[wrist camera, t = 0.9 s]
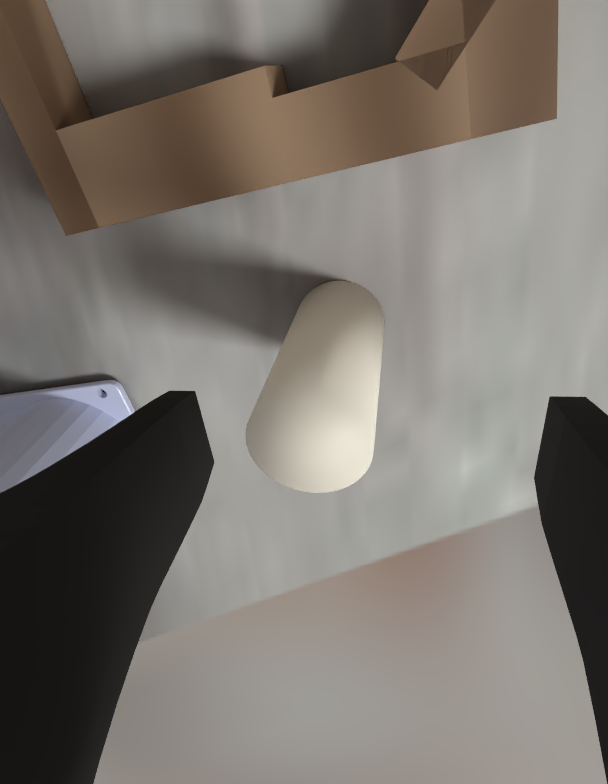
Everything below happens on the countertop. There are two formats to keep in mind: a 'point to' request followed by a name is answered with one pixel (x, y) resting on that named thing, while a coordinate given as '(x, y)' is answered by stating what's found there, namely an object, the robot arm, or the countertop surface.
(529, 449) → the countertop surface
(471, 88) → the keyhole board
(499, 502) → the countertop surface
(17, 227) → the countertop surface
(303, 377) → the cream peg
